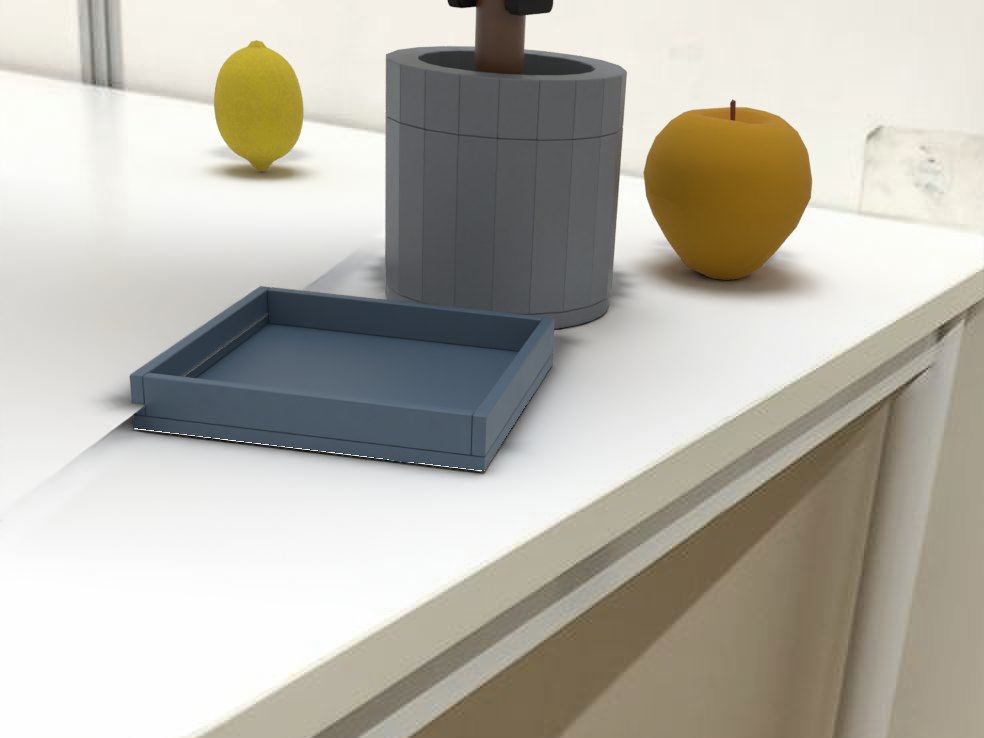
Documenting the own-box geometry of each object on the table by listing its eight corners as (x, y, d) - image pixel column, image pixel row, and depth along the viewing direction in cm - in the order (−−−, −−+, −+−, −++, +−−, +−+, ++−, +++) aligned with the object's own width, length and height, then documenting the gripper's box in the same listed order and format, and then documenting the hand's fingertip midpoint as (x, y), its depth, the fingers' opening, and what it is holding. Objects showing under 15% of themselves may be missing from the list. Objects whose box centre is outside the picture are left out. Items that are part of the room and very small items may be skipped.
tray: (133, 430, 54) (128, 374, 53) (261, 332, 66) (259, 285, 65) (484, 473, 53) (486, 416, 52) (552, 365, 64) (555, 317, 63)
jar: (356, 316, 69) (355, 64, 64) (419, 261, 78) (422, 40, 74) (589, 341, 68) (606, 87, 63) (623, 283, 77) (640, 59, 72)
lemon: (199, 168, 96) (192, 37, 93) (265, 159, 100) (261, 33, 97) (257, 183, 93) (252, 48, 90) (322, 173, 97) (320, 43, 94)
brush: (418, 224, 69) (424, -137, 62) (475, 207, 73) (486, -134, 66) (512, 242, 67) (528, -129, 60) (565, 224, 71) (585, -126, 64)
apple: (674, 243, 86) (688, 80, 82) (822, 269, 83) (845, 100, 79) (609, 274, 79) (621, 97, 75) (769, 304, 76) (791, 120, 72)
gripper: (747, -483, 58) (700, 25, 66) (399, -476, 64) (396, -12, 72) (666, -531, 52) (625, 35, 60) (290, -518, 58) (300, -6, 66)
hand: (500, 6), depth 66 cm, fingers closed on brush, 2 cm apart
